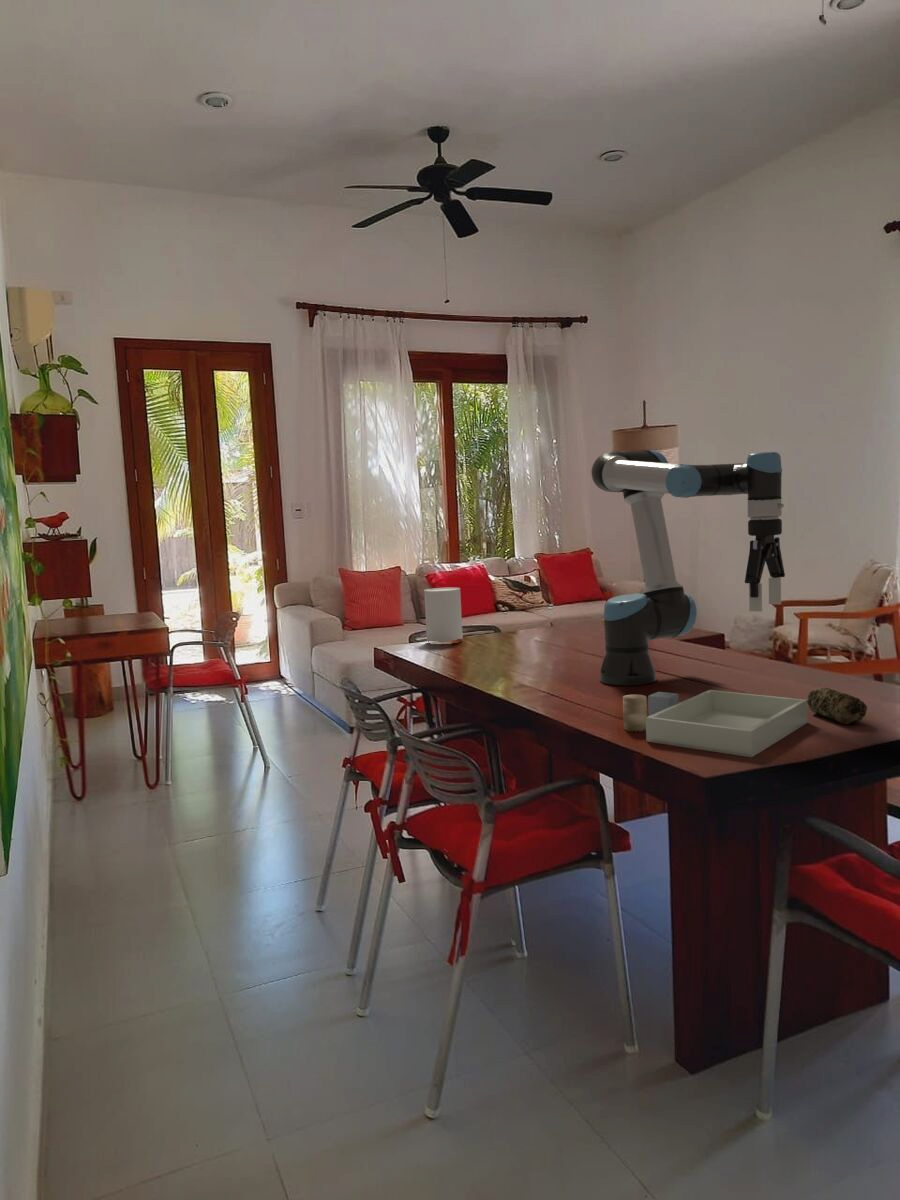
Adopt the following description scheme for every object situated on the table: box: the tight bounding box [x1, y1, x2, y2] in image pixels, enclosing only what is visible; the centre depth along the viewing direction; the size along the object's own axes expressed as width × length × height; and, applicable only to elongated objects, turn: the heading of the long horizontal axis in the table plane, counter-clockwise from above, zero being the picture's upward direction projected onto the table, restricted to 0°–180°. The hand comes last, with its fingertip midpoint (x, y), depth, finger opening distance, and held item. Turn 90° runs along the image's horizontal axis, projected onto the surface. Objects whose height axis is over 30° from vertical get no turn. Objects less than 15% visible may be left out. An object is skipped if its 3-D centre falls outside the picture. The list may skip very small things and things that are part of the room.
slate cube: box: [647, 691, 680, 716], centre depth 197 cm, size 5×5×5 cm
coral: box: [806, 687, 868, 725], centre depth 187 cm, size 14×6×6 cm, turn 10°
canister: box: [423, 587, 463, 642], centre depth 325 cm, size 14×14×20 cm
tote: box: [645, 689, 809, 758], centre depth 181 cm, size 22×30×5 cm
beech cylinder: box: [622, 694, 648, 733], centre depth 188 cm, size 5×5×7 cm
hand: (765, 607), depth 207 cm, fingers open, 13 cm apart
